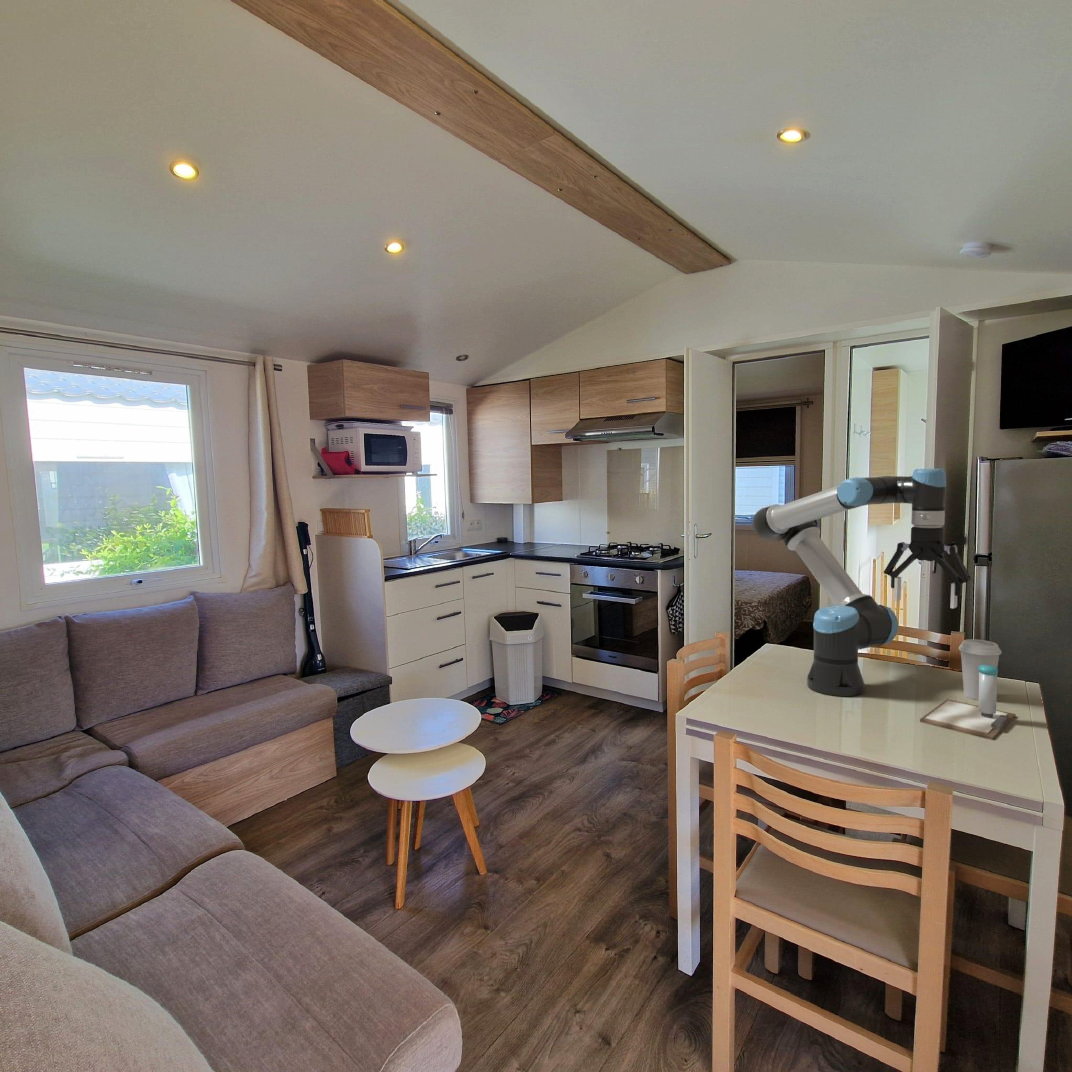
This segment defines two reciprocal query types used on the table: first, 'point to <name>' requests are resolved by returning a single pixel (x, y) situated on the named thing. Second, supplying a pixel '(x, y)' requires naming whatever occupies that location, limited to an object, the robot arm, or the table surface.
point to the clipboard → (967, 719)
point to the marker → (987, 690)
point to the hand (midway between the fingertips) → (924, 603)
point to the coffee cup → (976, 663)
